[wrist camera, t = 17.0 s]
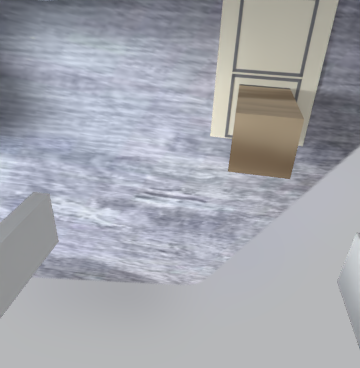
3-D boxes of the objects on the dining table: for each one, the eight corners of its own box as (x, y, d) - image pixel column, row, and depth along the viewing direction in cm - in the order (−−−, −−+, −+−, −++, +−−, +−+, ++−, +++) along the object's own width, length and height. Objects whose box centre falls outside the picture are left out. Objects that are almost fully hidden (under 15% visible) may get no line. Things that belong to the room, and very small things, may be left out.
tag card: (210, 135, 37) (210, 136, 36) (224, -9, 30) (223, -9, 29) (302, 145, 35) (302, 146, 35) (338, -4, 28) (340, -5, 28)
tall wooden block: (239, 83, 33) (235, 112, 24) (290, 88, 32) (304, 119, 24) (233, 130, 36) (228, 171, 27) (280, 135, 35) (290, 178, 26)
